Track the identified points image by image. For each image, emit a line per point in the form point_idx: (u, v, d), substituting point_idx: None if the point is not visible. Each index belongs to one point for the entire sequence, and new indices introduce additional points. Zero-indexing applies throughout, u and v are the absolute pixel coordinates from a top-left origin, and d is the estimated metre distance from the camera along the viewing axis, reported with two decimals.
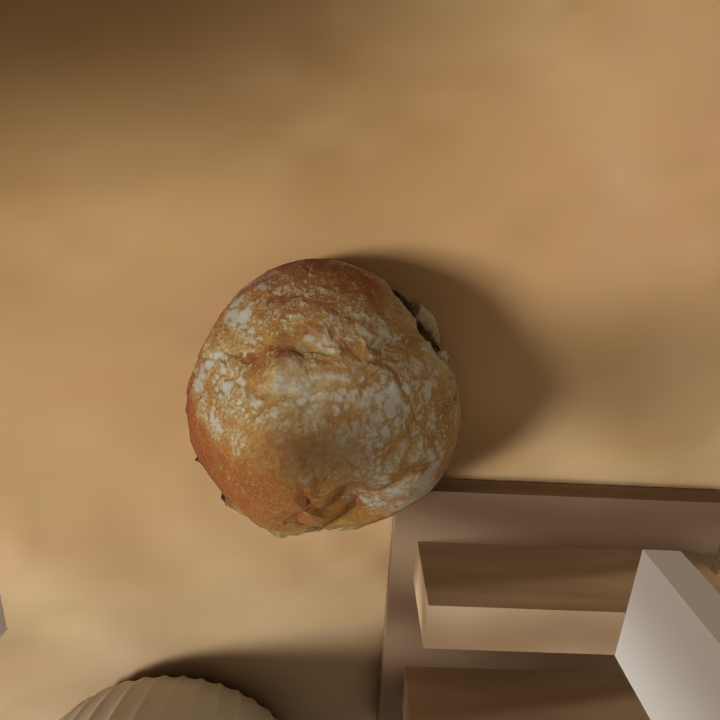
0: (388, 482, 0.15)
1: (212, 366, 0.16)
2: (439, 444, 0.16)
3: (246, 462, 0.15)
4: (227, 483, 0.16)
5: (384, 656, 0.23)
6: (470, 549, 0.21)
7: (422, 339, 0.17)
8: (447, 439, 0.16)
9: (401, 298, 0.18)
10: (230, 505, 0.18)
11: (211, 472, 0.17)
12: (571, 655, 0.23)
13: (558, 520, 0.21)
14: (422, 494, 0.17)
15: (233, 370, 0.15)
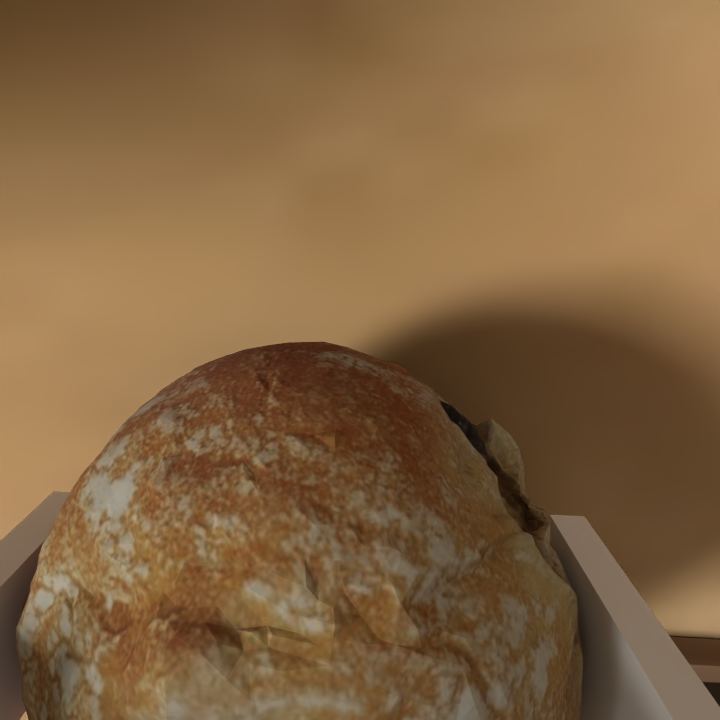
0: None
1: (50, 603, 0.07)
2: None
3: None
4: None
5: None
6: None
7: (515, 528, 0.08)
8: None
9: (461, 422, 0.09)
10: None
11: None
12: None
13: None
14: None
15: (82, 638, 0.06)
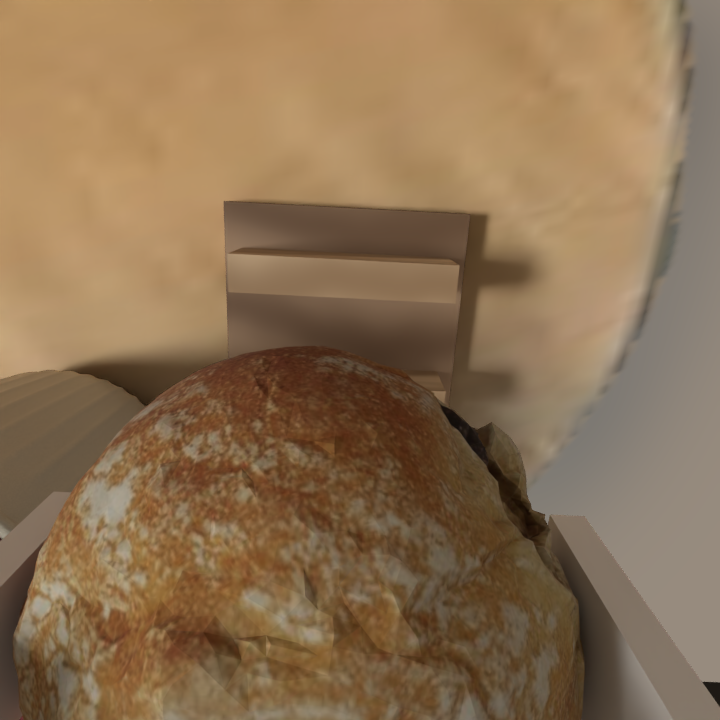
0: None
1: (47, 611, 0.07)
2: None
3: None
4: None
5: (229, 353, 0.31)
6: (279, 249, 0.29)
7: (516, 534, 0.08)
8: None
9: (462, 426, 0.09)
10: None
11: None
12: (370, 353, 0.31)
13: (343, 229, 0.29)
14: None
15: (79, 647, 0.06)
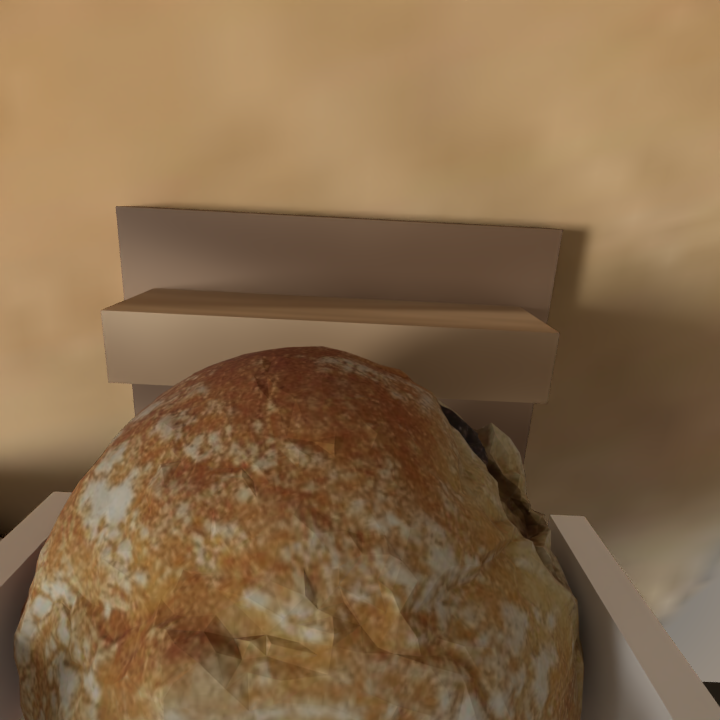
0: None
1: (48, 611, 0.07)
2: None
3: None
4: None
5: None
6: (217, 292, 0.16)
7: (515, 534, 0.08)
8: None
9: (462, 426, 0.09)
10: None
11: None
12: None
13: (334, 255, 0.16)
14: None
15: (80, 646, 0.06)
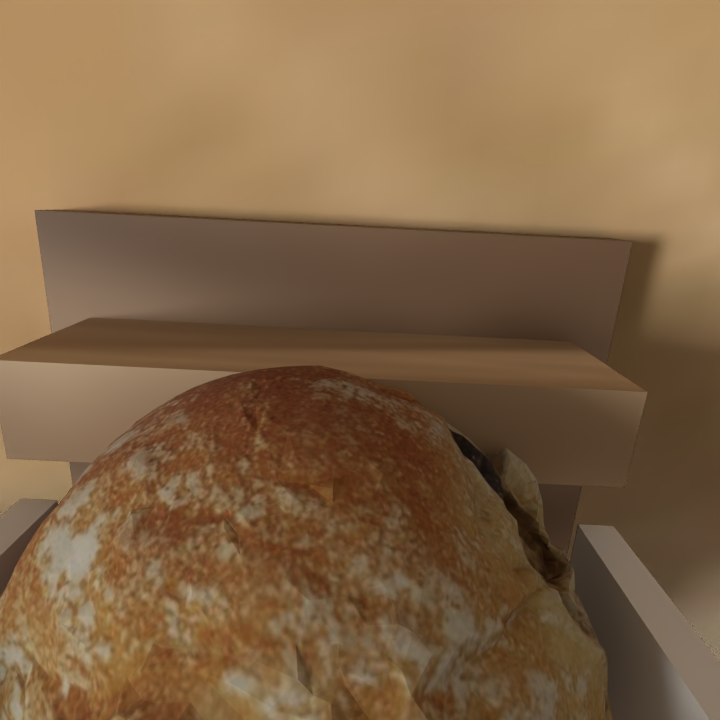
0: None
1: (1, 678, 0.06)
2: None
3: None
4: None
5: None
6: (172, 324, 0.12)
7: (539, 582, 0.07)
8: None
9: (475, 455, 0.08)
10: None
11: None
12: None
13: (327, 275, 0.12)
14: None
15: None
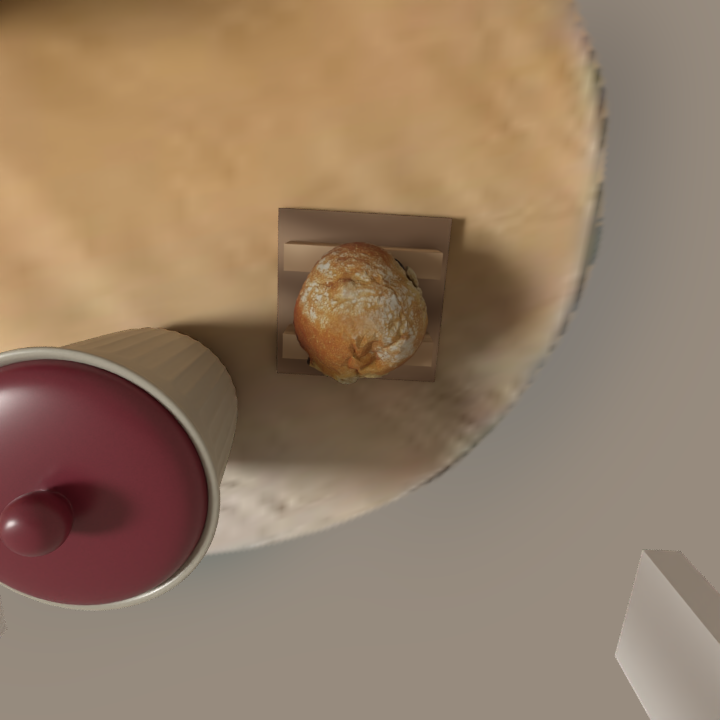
0: (391, 342, 0.34)
1: (311, 289, 0.35)
2: (415, 327, 0.35)
3: (327, 330, 0.34)
4: (316, 344, 0.35)
5: None
6: (316, 242, 0.41)
7: (408, 279, 0.35)
8: (418, 326, 0.35)
9: (398, 262, 0.36)
10: (312, 364, 0.37)
11: (307, 341, 0.35)
12: None
13: (362, 228, 0.41)
14: (407, 353, 0.35)
15: (322, 289, 0.34)
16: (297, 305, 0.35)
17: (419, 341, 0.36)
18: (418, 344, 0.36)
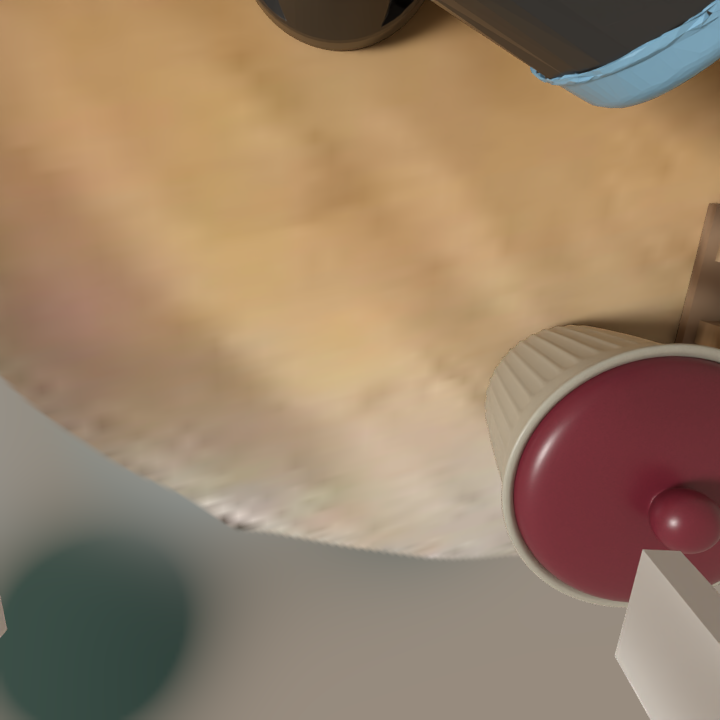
0: None
1: None
2: None
3: None
4: None
5: (689, 314, 0.43)
6: None
7: None
8: None
9: None
10: None
11: None
12: None
13: None
14: None
15: None
16: None
17: None
18: None
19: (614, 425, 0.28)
